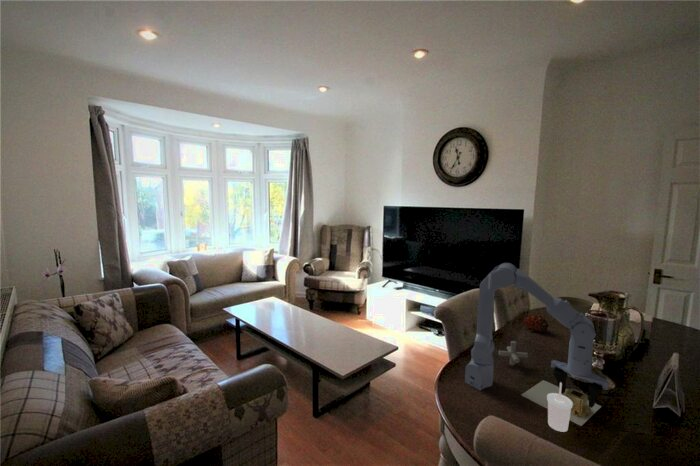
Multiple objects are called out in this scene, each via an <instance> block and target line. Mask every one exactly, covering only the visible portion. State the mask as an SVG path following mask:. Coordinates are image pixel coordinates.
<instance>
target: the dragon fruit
mask: <svg viewBox="0 0 700 466" xmlns="http://www.w3.org/2000/svg"><path fill="white" fill-rule="evenodd" d="M521 322H523V326H525V327H526V328H529V329H530V330H531V331H532V332H538V333H541V332H546V331H548V328H549V323H548V321H547V319H545V318H544V317H543V316H541V315H538V314H531V315H529V316H528V317H527V316H526V317H523V318H522V320H521Z"/></svg>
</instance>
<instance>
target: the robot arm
mask: <svg viewBox="0 0 700 466" xmlns="http://www.w3.org/2000/svg"><path fill="white" fill-rule="evenodd" d="M512 285H513V286H512ZM510 286H512V288H514V289H523V290H524V291H526V292H527V293H529V294H530V295H531V296H533V297H534V298H535V299H537V301H539V302H540V303H541V304H543V305H545V306H546V312H547V313H548V314H549V315H550V316H552V317H553V318H554V319H556V321H557V322H559V323H560V324H561V325H562V326H564V327H565V328H567V329H569V331H570V339H569V345H568V352H567V353H568V354H567V355H568V356H567V363H566V362H562V361H558V360H556V359H552V360H551V362H550V368H552V369H554V370H553V371H552V374H553V376H554V378H555V380H556V382H557V385H558V387H559V388H560V382H561V383H562V389H561V394H563V393H565V390H566V389H567V378H568V374H569V375H571V376H572V377H575V378H577V379H580V380H584V381H585V382H586V381H587V382H589V383H591V384H590V385H589V386H588V390H589V391H588V392H589V407H591V408H592V407H593V406H594V404H596V401H597V399H598V397H599V395H600V394H601V392H602V391H603V390H606V391H607V390H608V389H610V381H609V380H607V379H605V378H603V377H601V376H599V375H597V374H596V373H594V372H593V371H592V365H593V364H592V362H593V352H594V351H593V350H594V345H593V343H594V339H595V338H596V336H597V334H596V329H595V326H594V322H593V321H592V320H591V319H590V317H589V318H588V317H587V316H584V314H582V313H579V312H577V311H576V310H575V309H574V308H572V307H571V306H570V303H569V302H568V301H567V300H565V301H563V300H562V299H560V298H558V297H554V296H552V295H551V294H549V293H548V292H547V291H546V290H545V289H544V288H543V287H541V286H540V285H539V284H538V283H537V282H535V280H534V279H532V278H531V277H530V276H529V275H528V274H526V273H525V272H524V271H523V270H522V269H520V268H517V267H516V265H514V264H512V263H510V262H503V263H501V264H499V265H496V266H495V267H494V268H493V269H492V270H491V271H490V272H489V273H488V274H487V275H486V277H485V278H483V280H482V281H481V282H480V284H479V289H478V291H479V292H478V304H477V305H478V306H477V307H478V309H477V322H476V323H477V324H476V335H475V339H474V343H473V344H474V345H473V347H472V348H471V350H470V357H471V360H470V361H469V363H468V364H466V365H465V370H464V371H465V372H464V383H466V384H468V385H469V386H471V387H472V388H475V389H476V390H478V391H482V390H483V389H486V388H489V387H492V386H493V385H494V363H495V360H494V358H493V353H494V351H495V349H496V346H495V345H496V344H495V343H494V341H493V338H494V337H493V323H494V321H493V320H494V308H495V307H494V306H495V292H497V291H498V290H499V289H503V288H507V287H510Z"/></svg>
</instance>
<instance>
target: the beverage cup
mask: <svg viewBox="0 0 700 466" xmlns="http://www.w3.org/2000/svg"><path fill="white" fill-rule="evenodd" d="M561 389H562V383H561V382H560V388H559V394H558V393H549V394H548V395H547V401H548V409H547V423H548V426H549V427H550V428H551V429H553V430H554V431H557V432H561V433H562V432H563V433H565V432H568V430H569V424H570V420H569V419H570V413H571V408H572V406H573V402H572V401H571V400H570V399H569V398H568V397H566V396H564V395H562V394H561Z"/></svg>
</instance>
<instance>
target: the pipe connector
mask: <svg viewBox="0 0 700 466" xmlns="http://www.w3.org/2000/svg"><path fill="white" fill-rule="evenodd" d="M528 355H529V354H528V352H522V351H521V352H520V351H517V341H515V340H511V341H510V345H508V346H506V350H498V356H501V357H502V356H503V357H509V365H510V366H515V365H516V364H519V363H520V358H525V359H528Z"/></svg>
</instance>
